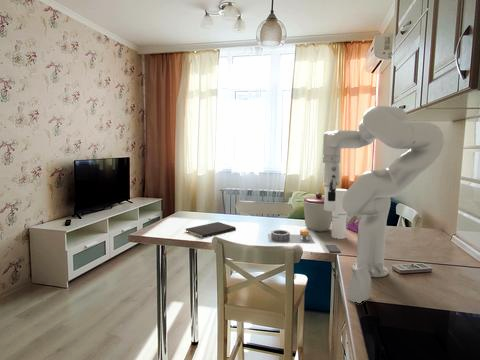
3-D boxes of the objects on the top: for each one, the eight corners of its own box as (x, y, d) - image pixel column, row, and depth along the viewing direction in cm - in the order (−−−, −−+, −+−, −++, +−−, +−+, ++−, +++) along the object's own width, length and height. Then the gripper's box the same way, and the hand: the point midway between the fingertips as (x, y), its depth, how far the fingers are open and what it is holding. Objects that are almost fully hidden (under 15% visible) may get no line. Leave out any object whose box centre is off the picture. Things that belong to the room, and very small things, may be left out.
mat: (340, 252, 135) (340, 251, 135) (320, 252, 136) (320, 250, 136) (335, 246, 144) (335, 244, 144) (316, 245, 145) (316, 244, 145)
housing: (315, 245, 145) (315, 237, 145) (268, 244, 146) (269, 236, 146) (309, 236, 159) (310, 229, 159) (267, 235, 160) (267, 228, 160)
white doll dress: (370, 297, 95) (372, 266, 94) (359, 304, 91) (361, 272, 90) (359, 293, 98) (360, 263, 97) (348, 299, 94) (349, 268, 92)
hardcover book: (185, 232, 167) (185, 228, 167) (218, 225, 183) (218, 221, 182) (202, 239, 155) (202, 234, 155) (235, 231, 171) (235, 227, 171)
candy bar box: (345, 228, 176) (346, 200, 174) (352, 227, 178) (353, 200, 176) (359, 233, 165) (360, 204, 164) (366, 232, 167) (368, 203, 165)
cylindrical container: (346, 239, 155) (348, 190, 152) (332, 238, 156) (333, 190, 154) (344, 235, 162) (346, 188, 159) (330, 234, 163) (332, 188, 161)
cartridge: (336, 211, 135) (338, 184, 134) (325, 211, 135) (326, 184, 134) (333, 209, 140) (335, 183, 139) (322, 208, 141) (323, 183, 139)
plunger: (309, 240, 150) (309, 232, 149) (300, 240, 150) (300, 232, 150) (308, 238, 154) (308, 229, 154) (299, 237, 155) (299, 229, 154)
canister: (333, 235, 162) (335, 196, 160) (299, 231, 168) (300, 194, 166) (334, 226, 179) (336, 191, 177) (303, 224, 185) (304, 189, 183)
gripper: (345, 160, 127) (343, 203, 129) (335, 159, 144) (333, 196, 146) (327, 160, 127) (325, 203, 129) (319, 158, 144) (317, 196, 146)
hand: (329, 199), depth 137 cm, fingers closed on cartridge, 5 cm apart
